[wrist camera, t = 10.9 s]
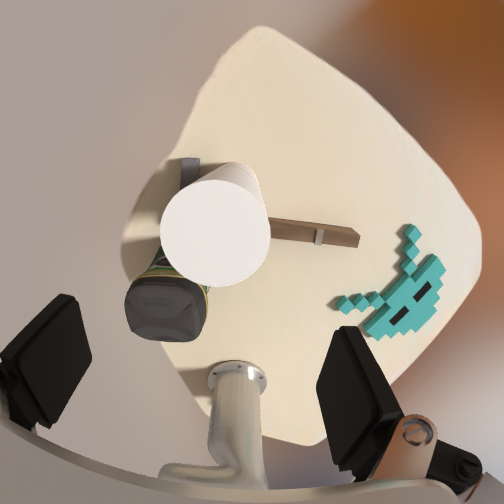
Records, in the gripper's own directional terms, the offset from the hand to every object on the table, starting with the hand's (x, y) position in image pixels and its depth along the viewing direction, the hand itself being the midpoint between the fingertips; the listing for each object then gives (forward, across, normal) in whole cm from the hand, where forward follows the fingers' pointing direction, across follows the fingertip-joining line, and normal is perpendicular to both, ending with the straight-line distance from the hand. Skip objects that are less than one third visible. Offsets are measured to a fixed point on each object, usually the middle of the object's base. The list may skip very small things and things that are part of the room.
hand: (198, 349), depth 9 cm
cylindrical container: (+35, +1, -1) cm, 35 cm away
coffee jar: (+35, +7, +11) cm, 37 cm away
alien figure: (+35, -33, +15) cm, 51 cm away
